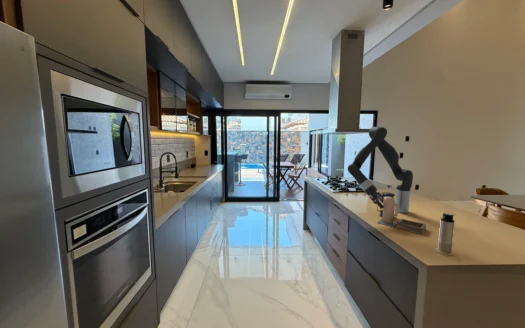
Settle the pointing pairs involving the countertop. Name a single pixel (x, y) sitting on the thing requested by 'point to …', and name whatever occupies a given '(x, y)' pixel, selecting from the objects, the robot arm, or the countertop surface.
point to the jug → (389, 210)
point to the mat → (387, 224)
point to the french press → (387, 196)
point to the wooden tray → (411, 226)
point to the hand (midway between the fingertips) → (384, 206)
